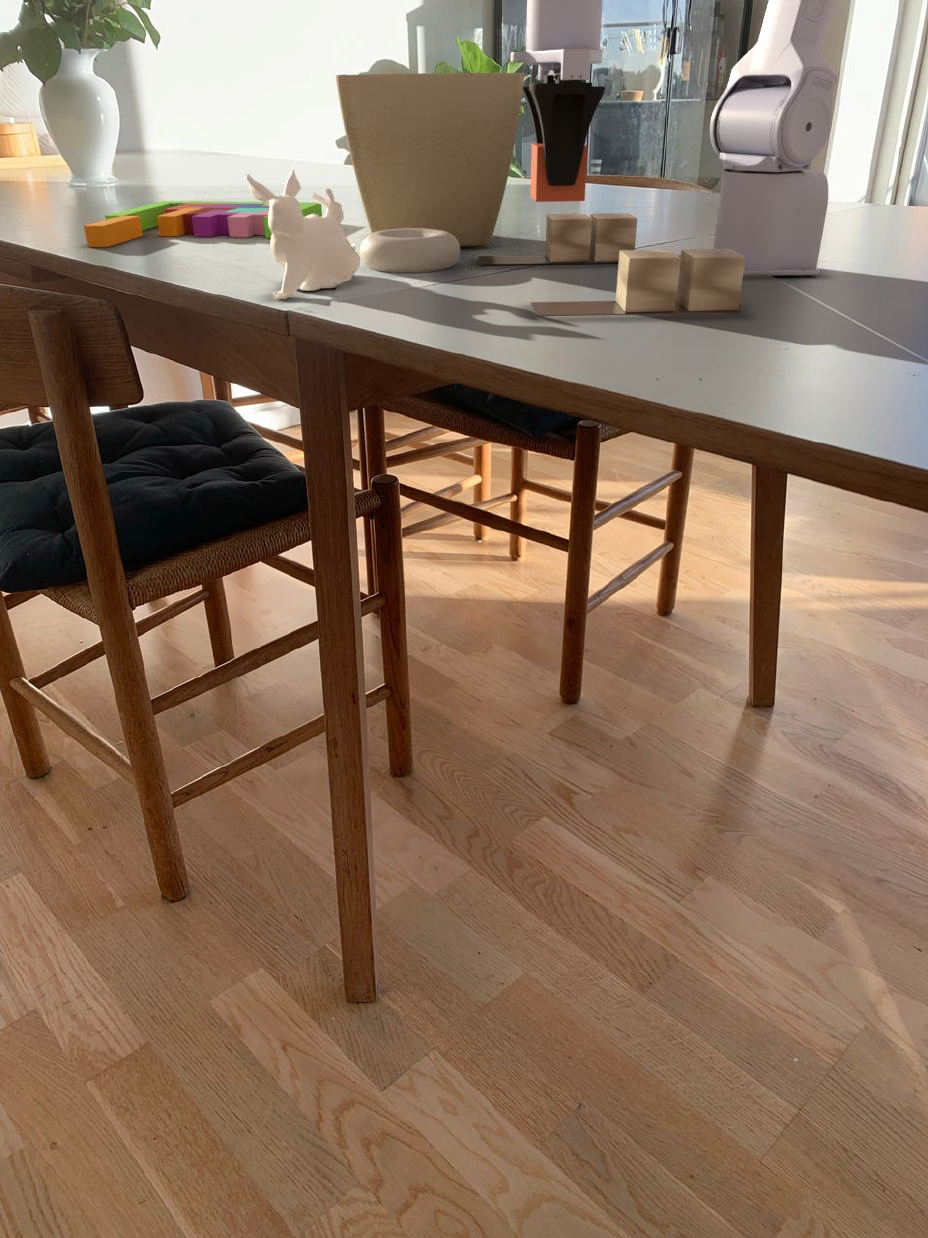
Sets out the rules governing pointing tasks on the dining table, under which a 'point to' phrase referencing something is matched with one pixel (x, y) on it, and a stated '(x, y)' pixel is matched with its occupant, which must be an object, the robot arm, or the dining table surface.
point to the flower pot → (432, 148)
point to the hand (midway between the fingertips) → (557, 182)
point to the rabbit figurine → (307, 240)
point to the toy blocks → (187, 220)
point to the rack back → (578, 241)
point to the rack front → (665, 285)
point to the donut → (410, 250)
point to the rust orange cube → (554, 193)
